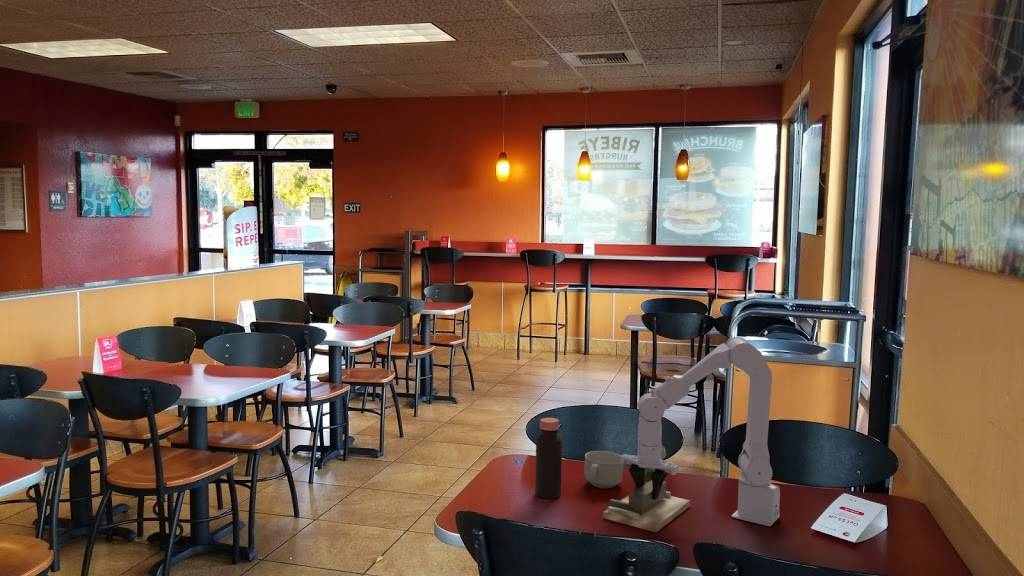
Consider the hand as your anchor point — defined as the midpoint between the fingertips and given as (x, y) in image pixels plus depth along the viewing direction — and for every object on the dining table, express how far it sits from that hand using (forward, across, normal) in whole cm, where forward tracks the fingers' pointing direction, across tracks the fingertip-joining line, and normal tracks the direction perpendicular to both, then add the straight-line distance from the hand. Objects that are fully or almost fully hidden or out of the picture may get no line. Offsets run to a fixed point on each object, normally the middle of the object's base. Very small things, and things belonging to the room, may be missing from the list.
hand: (647, 496), depth 190 cm
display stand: (+4, 0, 0) cm, 4 cm away
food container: (+4, -8, +21) cm, 23 cm away
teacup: (+4, -18, +9) cm, 21 cm away
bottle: (+4, -26, -5) cm, 27 cm away
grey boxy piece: (+2, -3, 0) cm, 3 cm away
